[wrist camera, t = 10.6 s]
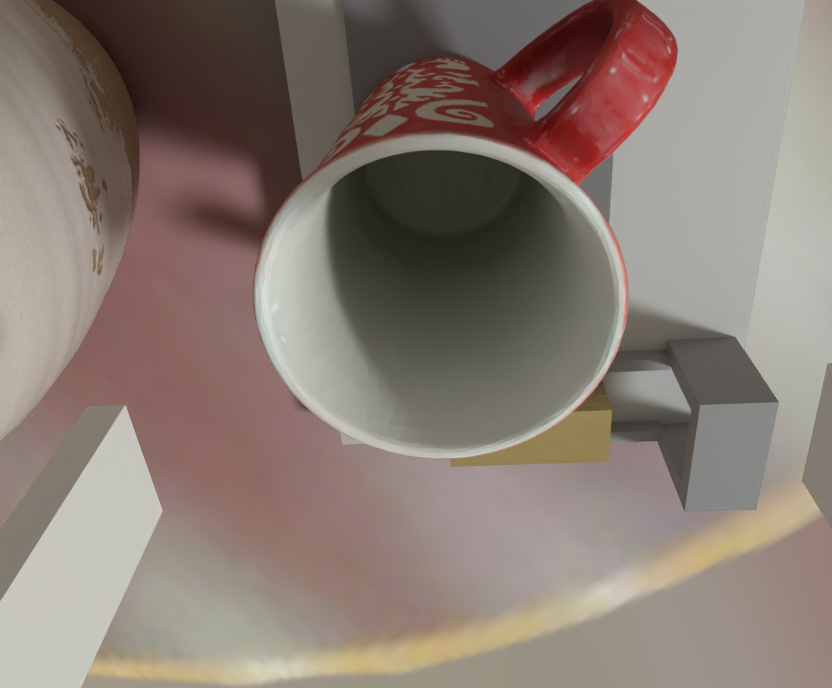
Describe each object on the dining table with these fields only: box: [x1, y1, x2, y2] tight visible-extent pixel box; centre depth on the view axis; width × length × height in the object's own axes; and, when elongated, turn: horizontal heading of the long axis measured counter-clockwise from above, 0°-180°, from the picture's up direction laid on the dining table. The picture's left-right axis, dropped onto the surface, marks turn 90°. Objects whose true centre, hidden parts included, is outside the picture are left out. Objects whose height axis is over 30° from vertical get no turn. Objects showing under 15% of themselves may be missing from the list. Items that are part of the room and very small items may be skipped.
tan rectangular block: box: [451, 380, 612, 467], centre depth 34 cm, size 7×3×3 cm, turn 94°
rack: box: [275, 0, 806, 512], centre depth 30 cm, size 19×23×7 cm
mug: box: [253, 0, 678, 459], centre depth 23 cm, size 13×9×14 cm
